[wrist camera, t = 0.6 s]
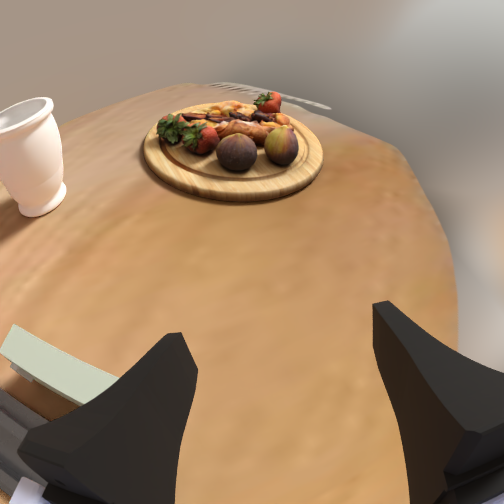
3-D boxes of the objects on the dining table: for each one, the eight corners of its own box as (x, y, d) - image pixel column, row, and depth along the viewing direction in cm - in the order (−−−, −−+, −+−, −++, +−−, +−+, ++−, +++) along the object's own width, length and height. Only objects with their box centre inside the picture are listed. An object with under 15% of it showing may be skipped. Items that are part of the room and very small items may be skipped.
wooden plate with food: (238, 101, 69) (241, 69, 62) (352, 161, 56) (365, 124, 50) (114, 144, 52) (109, 105, 46) (225, 240, 39) (229, 188, 33)
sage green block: (146, 403, 25) (130, 382, 19) (134, 437, 22) (113, 425, 17) (45, 355, 25) (13, 323, 20) (32, 383, 23) (-4, 356, 18)
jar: (11, 231, 34) (-26, 143, 23) (17, 189, 40) (-8, 111, 29) (74, 211, 38) (49, 116, 27) (72, 172, 44) (56, 89, 33)
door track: (169, 477, 20) (164, 478, 18) (140, 565, 14) (133, 575, 11) (-3, 385, 21) (-20, 374, 19) (-30, 458, 15) (-49, 453, 12)
